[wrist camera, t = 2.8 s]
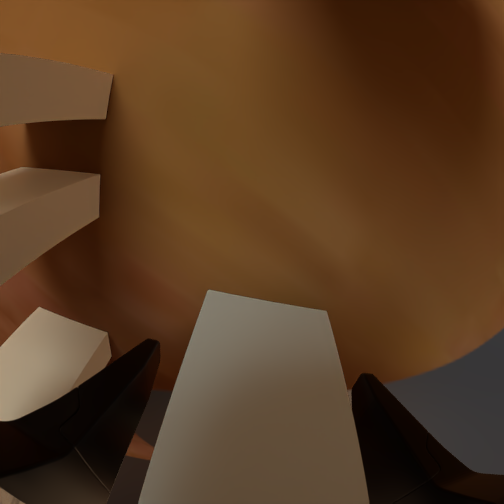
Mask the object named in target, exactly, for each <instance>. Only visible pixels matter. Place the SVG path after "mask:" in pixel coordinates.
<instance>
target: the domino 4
mask: <svg viewBox="0 0 504 504" xmlns="http://www.w3.org/2000/svg"><path fill="white" fill-rule="evenodd" d="M138 504H369V497H368V491H367V485H366V479H365V473H364V468H363V462H362V457H361V452H360V447H359V442H358V437H357V432H356V427H355V422H354V418H353V413H352V409H351V404H350V400H349V396H348V391H347V387H346V383H345V379H344V375H343V370H342V366H341V362H340V359H339V355H338V351H337V347H336V343H335V339H334V336H333V332H332V328H331V325H330V321H329V317H328V314H327V311H324V310H317V309H311V308H305V307H299V306H293V305H287V304H282V303H276V302H270V301H265V300H259V299H254V298H249V297H244V296H238V295H233V294H228V293H223V292H218V291H213V290H208V291H207V294H206V297H205V300H204V302H203V305H202V308H201V311H200V313H199V316H198V319H197V322H196V325H195V328H194V330H193V333H192V336H191V339H190V342H189V345H188V348H187V351H186V353H185V356H184V359H183V362H182V365H181V368H180V371H179V374H178V377H177V380H176V383H175V386H174V389H173V392H172V395H171V398H170V401H169V405H168V407H167V410H166V414H165V417H164V420H163V423H162V426H161V429H160V432H159V435H158V439H157V442H156V445H155V448H154V452H153V455H152V458H151V462H150V465H149V468H148V471H147V475H146V478H145V481H144V485H143V488H142V492H141V495H140V499H139V502H138Z"/></svg>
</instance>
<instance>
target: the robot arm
mask: <svg viewBox="0 0 504 504" xmlns="http://www.w3.org/2000/svg"><path fill="white" fill-rule="evenodd" d="M159 363H160V342H159V341H157V340H153V339H146V340H145V341H143V342H142V343H140V344H139V345H138V346H136V347H135V348H133V349H132V350H130V351H129V352H127V353H126V354H124V355H123V356H121V357H120V358H119V359H117V360H116V361H114V362H113V363H111V364H110V365H108V366H107V367H105V368H104V369H102V370H101V371H99V372H98V373H96V374H95V375H94V376H92V377H91V378H89V379H88V380H86V381H85V382H83V383H82V384H80V385H79V386H78V387H76V388H74V389H73V390H71V391H70V392H68V393H66V394H65V395H63V396H62V397H60V398H58V399H57V400H55V401H53V402H51V403H49V404H47V405H45V406H43V407H41V408H39V409H37V410H35V411H33V412H31V413H29V414H27V415H25V416H23V417H20V418H18V419H15V420H11V421H0V504H106V503H107V500H108V497H109V495H110V493H109V492H111V489H112V487H113V484H114V482H115V479H116V477H117V474H118V472H119V469H120V467H121V464H122V462H123V459H124V457H125V454H126V452H127V450H128V447H129V445H130V442H131V440H132V438H133V435H134V433H135V430H136V428H137V426H138V423H139V421H140V419H141V416H142V414H143V412H144V409H145V407H146V404H147V402H148V400H149V397H150V393H151V390H152V387H153V383H154V380H155V376H156V373H157V370H158V366H159ZM352 413H353V418H354V422H355V427H356V432H357V437H358V442H359V447H360V452H361V457H362V462H363V468H364V473H365V479H366V485H367V491H368V497H369V504H504V475H497V474H496V475H495V474H483V473H477V472H474V471H472V470H470V469H469V468H468V467H466V466H465V465H464V464H463V463H462V462H460V461H459V460H458V459H457V458H456V457H454V456H453V455H452V454H451V453H450V452H449V451H447V450H446V449H445V448H444V447H443V446H442V445H441V444H440V443H439V442H438V441H437V440H436V439H435V438H434V437H433V436H432V435H431V434H430V433H429V432H428V431H427V430H426V429H425V428H424V427H423V426H422V425H421V424H420V423H419V422H418V421H417V420H416V419H415V417H414V416H412V414H411V413H410V412H409V411H408V410H407V409H406V408H405V407H404V406H403V405H402V404H401V403H400V402H399V401H398V400H397V399H396V398H395V397H394V396H393V395H392V394H391V393H390V392H389V391H388V389H387V388H386V387H385V386H384V385H383V384H382V383H381V382H380V381H379V380H378V379H377V378H376V377H375V376H374V375H373V374H370V373H362V374H361V375H360V376H359V378H358V380H357V381H356V383H355V384H354V386H353V388H352Z"/></svg>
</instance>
